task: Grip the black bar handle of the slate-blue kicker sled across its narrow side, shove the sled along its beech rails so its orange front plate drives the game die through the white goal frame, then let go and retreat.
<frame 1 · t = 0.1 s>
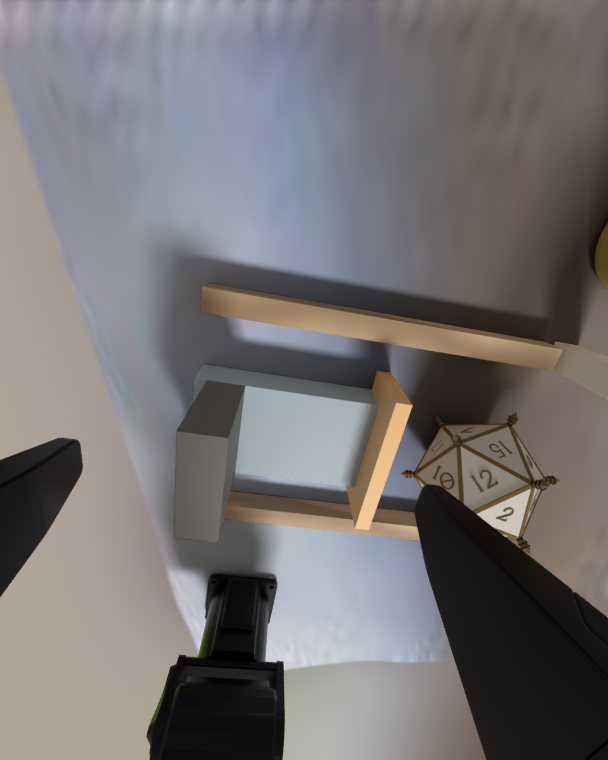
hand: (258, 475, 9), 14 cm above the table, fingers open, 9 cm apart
sled: (287, 453, 21), point 4 cm above the table, slide at 0.0 cm
game die: (450, 441, 26), on the table
rails: (353, 429, 25), on the table
goal: (510, 451, 26), on the table
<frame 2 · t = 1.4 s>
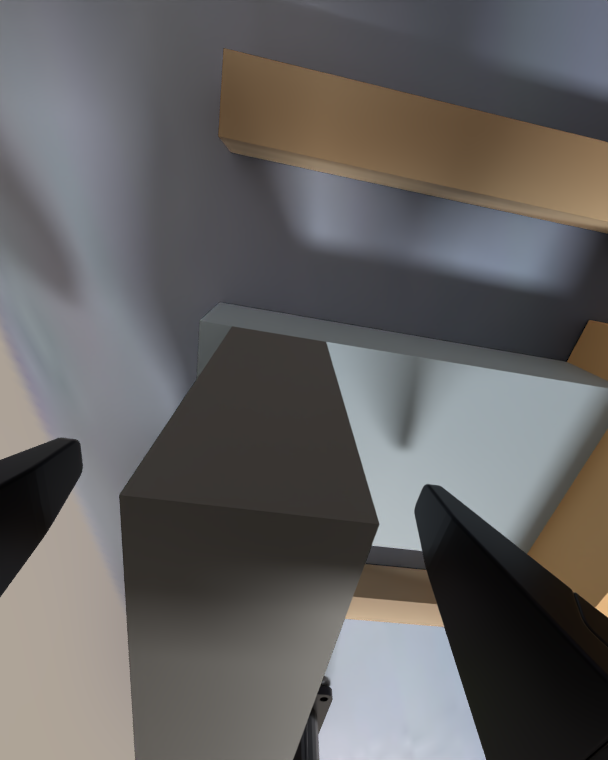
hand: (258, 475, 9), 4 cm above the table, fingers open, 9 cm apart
sled: (428, 508, 9), point 4 cm above the table, slide at 0.0 cm
rails: (510, 442, 13), on the table
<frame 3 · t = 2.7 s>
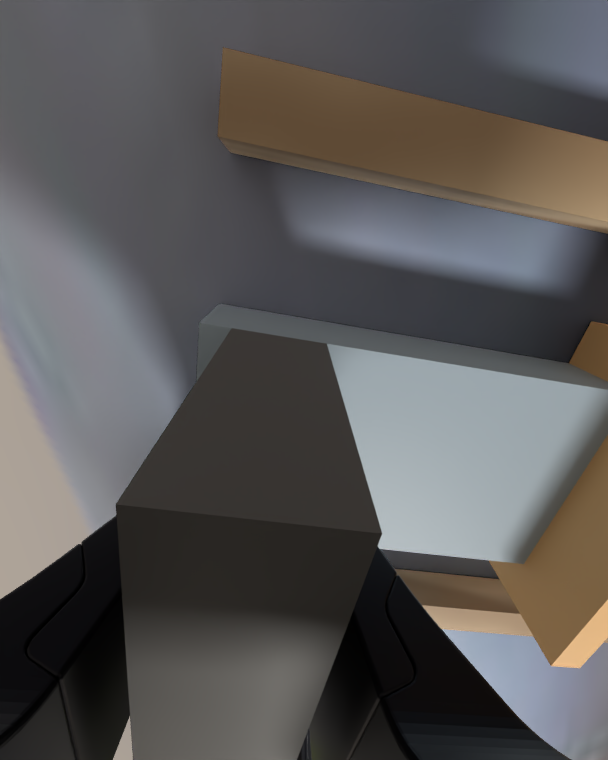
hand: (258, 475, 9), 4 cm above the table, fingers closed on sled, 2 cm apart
sled: (429, 511, 9), point 4 cm above the table, slide at 0.0 cm, touching gripper
rails: (512, 444, 13), on the table
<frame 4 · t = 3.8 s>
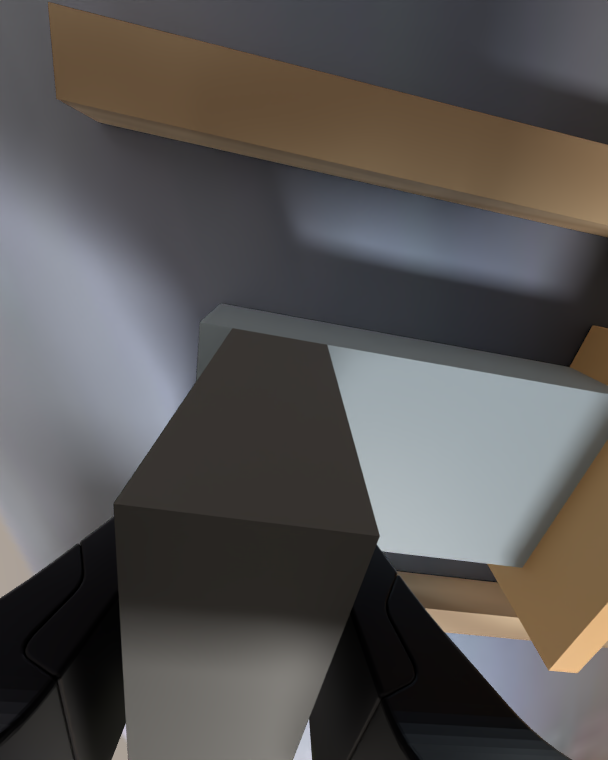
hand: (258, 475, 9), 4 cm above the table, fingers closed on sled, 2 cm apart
sled: (428, 514, 9), point 4 cm above the table, slide at 3.4 cm, touching game die, gripper
rails: (428, 434, 12), on the table
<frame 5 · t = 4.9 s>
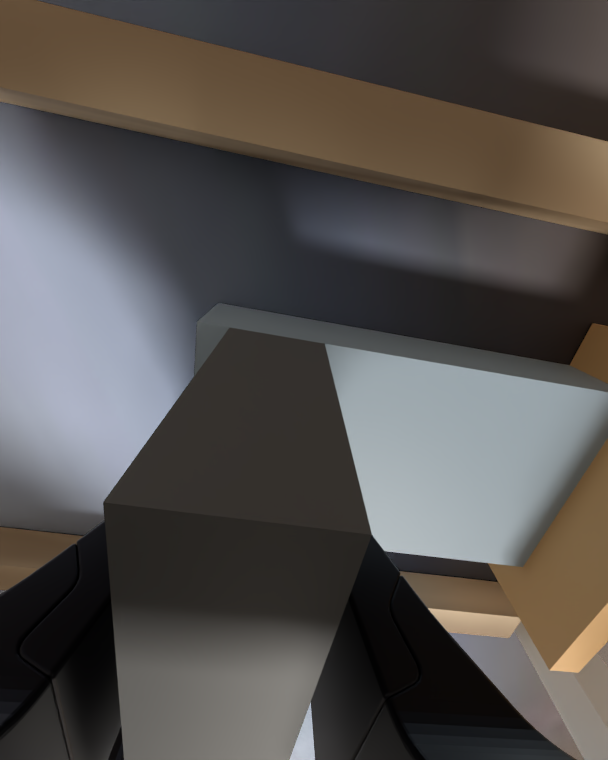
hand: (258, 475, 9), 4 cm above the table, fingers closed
sled: (427, 513, 8), point 4 cm above the table, slide at 8.5 cm, touching game die, gripper
rails: (294, 413, 12), on the table
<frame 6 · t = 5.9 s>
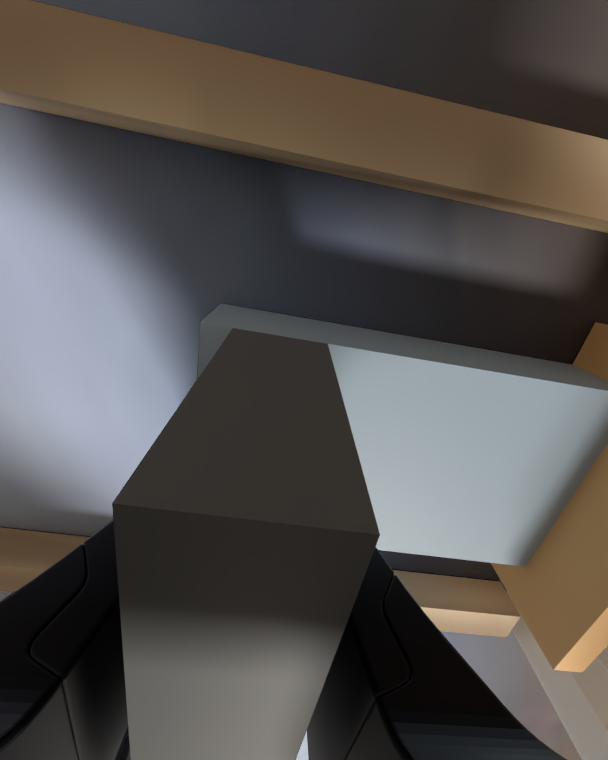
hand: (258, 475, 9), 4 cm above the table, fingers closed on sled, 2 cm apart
sled: (430, 513, 8), point 4 cm above the table, slide at 8.8 cm, touching gripper
rails: (289, 412, 12), on the table
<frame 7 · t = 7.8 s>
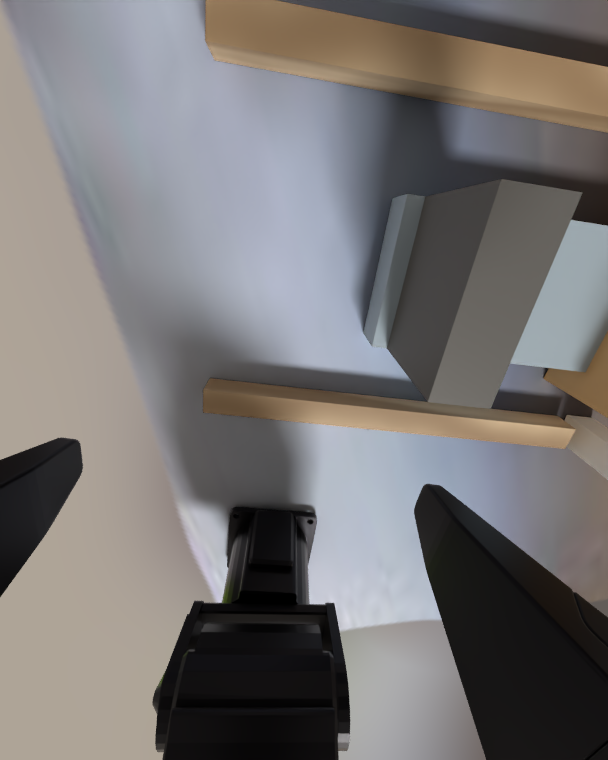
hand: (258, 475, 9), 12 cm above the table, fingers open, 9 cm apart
sled: (540, 302, 15), point 4 cm above the table, slide at 8.8 cm
rails: (424, 277, 18), on the table
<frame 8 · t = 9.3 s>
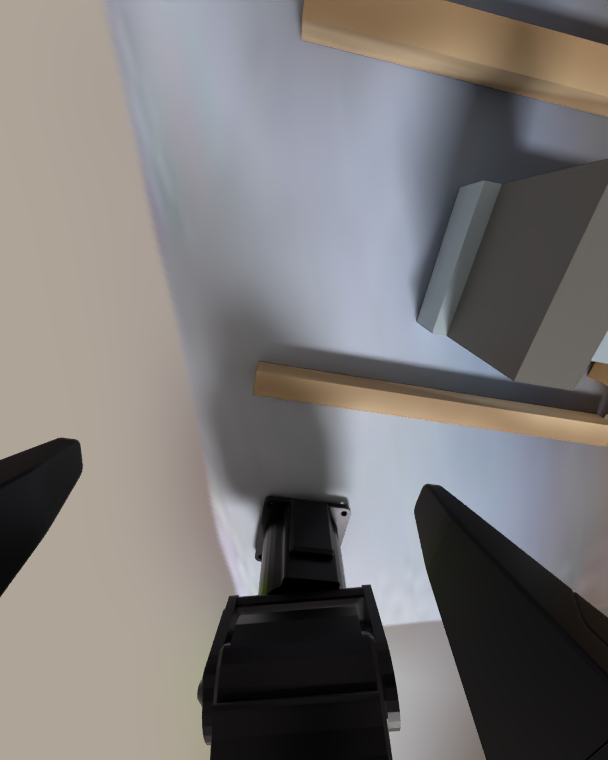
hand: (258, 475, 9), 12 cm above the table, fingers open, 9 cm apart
rails: (482, 268, 18), on the table
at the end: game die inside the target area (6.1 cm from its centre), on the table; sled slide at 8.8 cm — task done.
